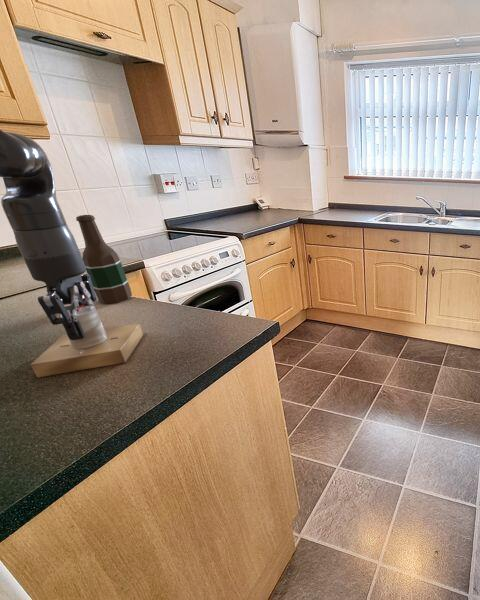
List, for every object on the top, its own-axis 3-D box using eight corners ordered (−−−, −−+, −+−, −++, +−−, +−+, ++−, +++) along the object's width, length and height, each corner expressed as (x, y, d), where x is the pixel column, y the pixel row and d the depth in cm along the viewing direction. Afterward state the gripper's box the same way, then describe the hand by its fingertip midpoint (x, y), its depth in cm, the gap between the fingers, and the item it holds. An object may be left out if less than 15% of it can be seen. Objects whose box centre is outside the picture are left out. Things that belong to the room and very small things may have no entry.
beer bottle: (99, 298, 99) (65, 215, 89) (131, 291, 103) (103, 212, 93) (99, 306, 93) (63, 219, 83) (133, 299, 98) (103, 215, 88)
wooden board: (37, 377, 64) (29, 363, 62) (68, 346, 74) (62, 333, 73) (125, 362, 68) (120, 349, 67) (143, 334, 78) (139, 323, 77)
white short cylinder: (100, 345, 68) (87, 313, 65) (66, 351, 67) (50, 318, 64) (112, 333, 73) (99, 302, 70) (80, 337, 71) (66, 306, 68)
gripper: (56, 259, 57) (92, 345, 64) (93, 241, 70) (120, 314, 76) (-2, 264, 55) (42, 352, 61) (47, 244, 67) (79, 319, 74)
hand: (85, 331), depth 69 cm, fingers closed on white short cylinder, 5 cm apart
